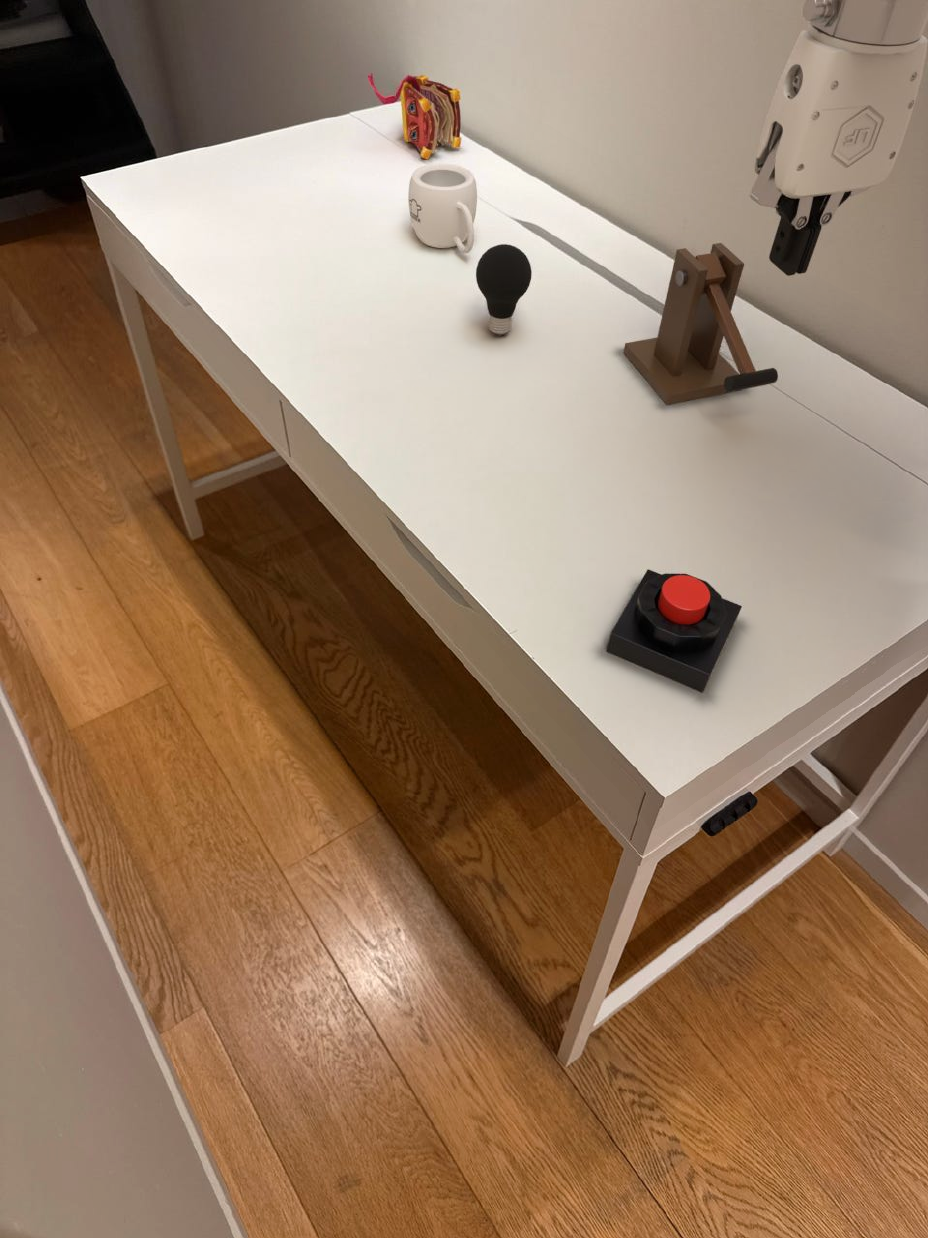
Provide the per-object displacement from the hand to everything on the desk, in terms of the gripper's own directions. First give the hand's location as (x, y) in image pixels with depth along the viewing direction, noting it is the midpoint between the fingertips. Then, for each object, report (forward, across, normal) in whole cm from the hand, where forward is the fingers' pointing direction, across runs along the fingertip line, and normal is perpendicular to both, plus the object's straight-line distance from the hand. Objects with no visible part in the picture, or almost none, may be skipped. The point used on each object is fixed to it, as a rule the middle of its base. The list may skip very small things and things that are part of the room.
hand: (786, 266), depth 74 cm
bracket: (+18, +1, +11) cm, 21 cm away
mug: (+18, -14, +45) cm, 51 cm away
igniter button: (+14, -19, -21) cm, 31 cm away
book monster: (+18, -9, +74) cm, 77 cm away
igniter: (+18, -19, -21) cm, 33 cm away
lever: (+10, +1, +7) cm, 12 cm away
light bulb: (+18, -15, +24) cm, 34 cm away
